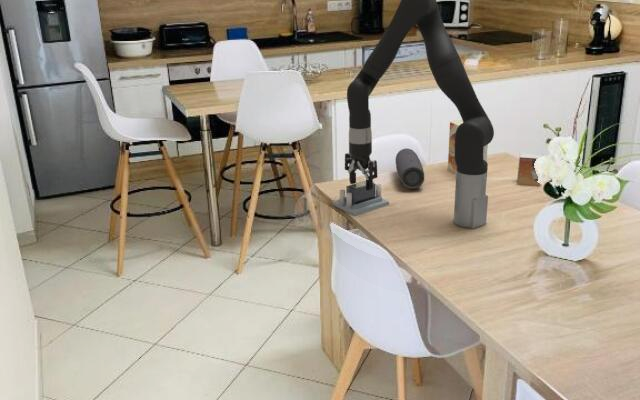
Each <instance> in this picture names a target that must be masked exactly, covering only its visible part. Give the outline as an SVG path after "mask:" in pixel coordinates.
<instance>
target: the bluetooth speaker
mask: <svg viewBox="0 0 640 400" xmlns="http://www.w3.org/2000/svg"><path fill="white" fill-rule="evenodd" d="M395 167H396V173H397V175H398V178H399V180H400V182H401V183H402V185H403V186H404V187H406V188H407V189H417V188H420V187H421V186H422V185H423V183H424V181H425V172H424V167H423V164H422V162H421V160H420V158H419V156H418V154H417V153H416V152H415V151H414V149H410V148H407V147H406V148H403V149H400V150H399V151H398V152H397V154H396V156H395Z"/></svg>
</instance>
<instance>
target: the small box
mask: <svg viewBox="0 0 640 400" xmlns="http://www.w3.org/2000/svg"><path fill="white" fill-rule="evenodd" d="M541 156H543V154H535V153H534V154H533V153H523V152H520V153H519V159H518V165H517V166H518V167H517V178H516V185H521V186H522V185H525V186H531V187H540V186H541V183H540V184H539V183H538V182H537V181H538V176H537V174H536V171H535V168H534V163H535V161H536V159H537V158H539V157H541Z"/></svg>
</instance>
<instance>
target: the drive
mask: <svg viewBox="0 0 640 400" xmlns="http://www.w3.org/2000/svg"><path fill="white" fill-rule="evenodd" d="M376 185H377V184H376V183H375V182H374V183H373V188H372V189H371V190H366V180H364V181H360V182H356V183H354V184H349V185H346V189H345V194H346V193H352V206H353V205H355V204H359V203H362V202H365V201H369V200H372V199H375V196H376Z"/></svg>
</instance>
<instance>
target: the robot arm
mask: <svg viewBox="0 0 640 400" xmlns="http://www.w3.org/2000/svg"><path fill="white" fill-rule="evenodd" d="M415 25H416V27H417V29H418V31H419V32H420V35H421V36H422V39H423V43H424V47H425V53H426V59H427V62H428V66H429V68H430V71H431V73H432V74H431V75H432V76H433V79H434V81H435V82H436V85H437V86H438V88H439V89H440V90H441V92H442V93H443V94H444V95H445V96H446V97H447V98H448V99H449V101H451V102H452V103H453V104H454V106H455V107H456V109H457V110H458V113H459V115H460V117H461V120H463V123H462V124H460V125H459V126H458V128H457V130H456V134H455V162H456V165H457V170H456V174H455V190H454V191H455V192H454V206H453V207H454V209H453V223H454V224H455V225H457V226H459V227H463V228H470V229H476V228H479V227H482V226H485V225H487V216H488V204H489V195H487V194H486V193H487V192H486V191H487V180H488V162H486V161H485V160H483V149H484V146H486V145H489V144H490V143H491V142H492V140H493V139H494V135H495V131H494V126H493V124H492V122H491V119H490V118H489V116H488V114H487V113H486V111H485V110H484V108H483V105H482V104H481V102H480V101H479V98H478V97H477V94H476V91H475V89H474V87H473V84H472V82H471V80H470V78H469V76H468V74H467V70H466V68H465V66H464V63H463V61H462V59H461V57H460V55H459V52H458V51H457V49H456V47H455V45H454V43H453V40H452V39H451V37H450V34H449V33H448V31H447V30H446V26H445V23H444V21H443V18H442V16H441V12H440V9H439V5H438V2H437V0H400V1H399V5H398V6H397V9H396V10H395V13H394V15H393V17H392V18H391V21H390V23H389V25H388V26H387V28H386V30H385V32H384V33H383V35H382V36H381V38H380V39H379V41H378V43H376V46H374V49H373V50H372V52H371V53H369V55H368V57H367V59H366V60H365V62H364V64H363V66H362V68H361V70H360V71H359V73H358V74H357V75H356V77H355V78H354V79H353V80H352V81H351V82H350V83H349V85H348V86H347V89H346V101H347V106H348V113H349V115H348V116H349V117H348V118H349V119H348V126H349V128H348V152H346V153H344V170H345V171H347V173H348V176H349V185H352V184H356V183H357V172H356V171H357V170H359V171H361V173H362V174H363V175H364V177H365V181H366V190H371V189H372V188H373V182H374V180H375V179H378V162H377V160H375V159H374V160H371V154H372V152H373V149H372V148H373V145H372V144H373V136H372V135H373V133H372V114H371V111H370V109H369V98H370V95H371V94H372V93H373V92H374V89H375V88H376V86H377V85H378V83H379V81H380V80H381V78H383V76H384V75H385V73H386V72H387V71H388V70H389V68H390V66H391V65H392V63H393V62H394V60H395V59H396V56H397V54H398V52H399V51H400V49H401V45H402V43H403V42H404V41H405V38H406V37H407V35H408V33H409V32H410V31H411V30H412V28H413V27H414V26H415Z"/></svg>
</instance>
